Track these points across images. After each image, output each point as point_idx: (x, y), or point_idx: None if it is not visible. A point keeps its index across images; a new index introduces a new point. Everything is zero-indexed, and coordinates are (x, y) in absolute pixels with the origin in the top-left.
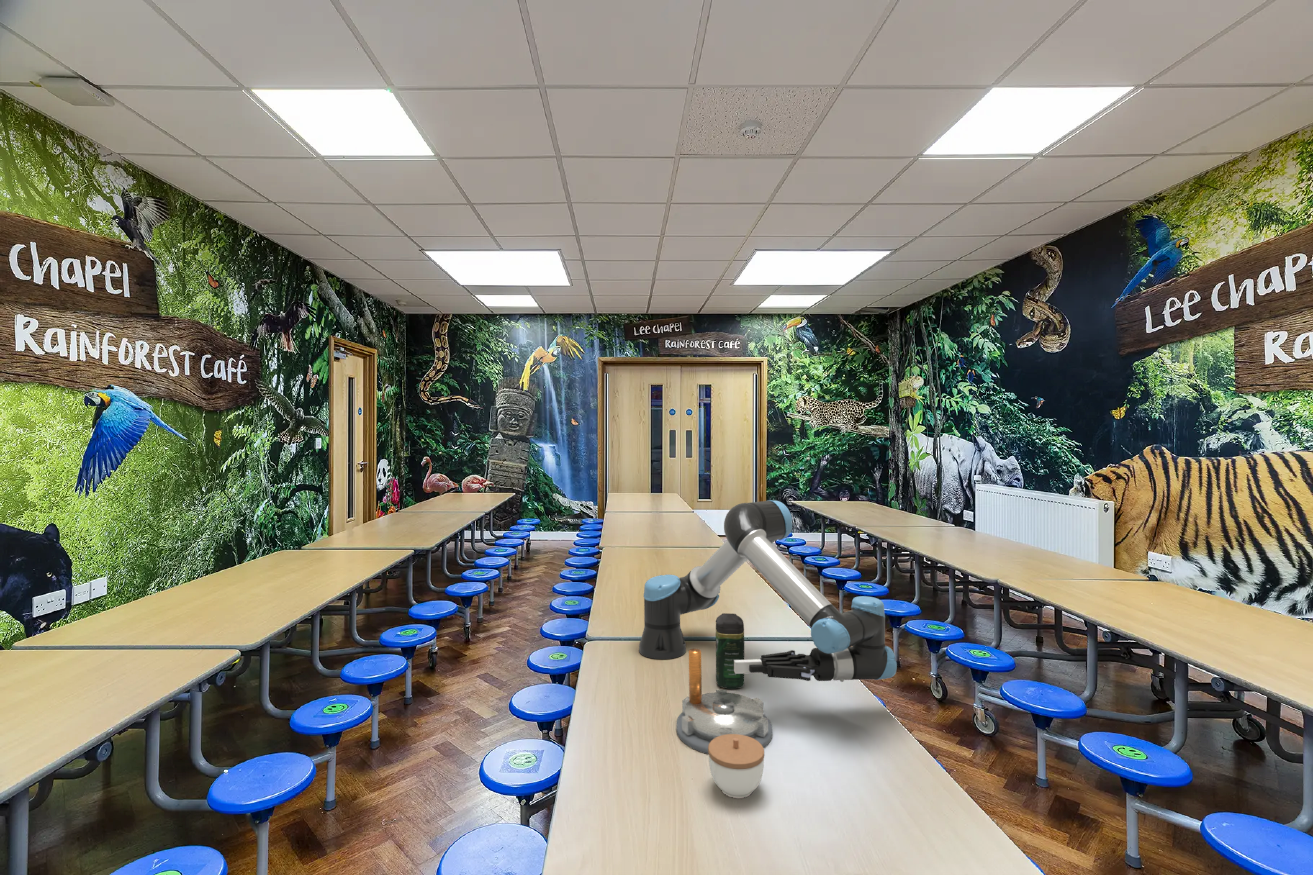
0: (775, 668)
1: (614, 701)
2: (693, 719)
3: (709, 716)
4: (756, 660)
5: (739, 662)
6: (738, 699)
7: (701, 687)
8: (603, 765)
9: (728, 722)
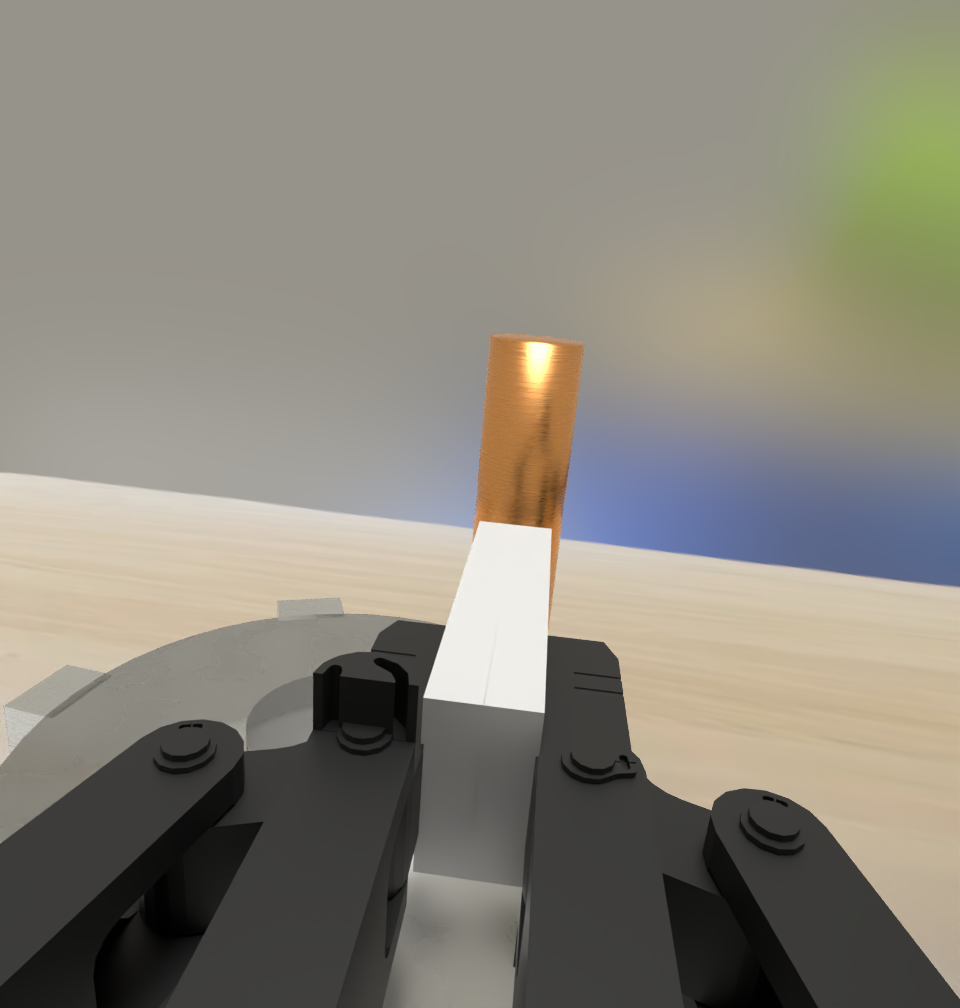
0: (50, 837)
1: (711, 601)
2: (288, 620)
3: (279, 673)
4: (500, 661)
5: (476, 542)
6: (471, 902)
7: None
8: (279, 537)
9: (137, 725)
